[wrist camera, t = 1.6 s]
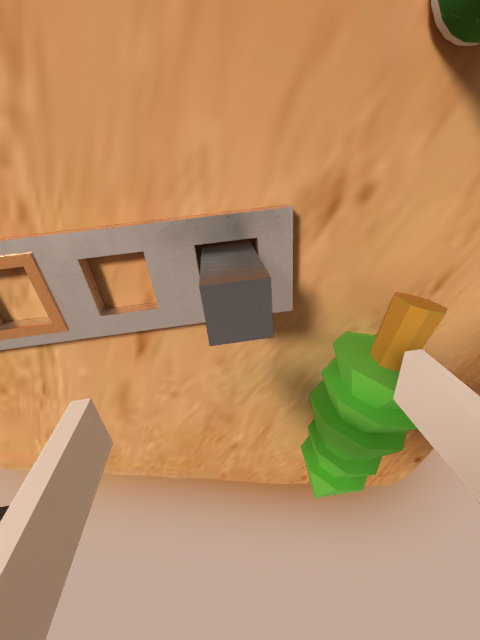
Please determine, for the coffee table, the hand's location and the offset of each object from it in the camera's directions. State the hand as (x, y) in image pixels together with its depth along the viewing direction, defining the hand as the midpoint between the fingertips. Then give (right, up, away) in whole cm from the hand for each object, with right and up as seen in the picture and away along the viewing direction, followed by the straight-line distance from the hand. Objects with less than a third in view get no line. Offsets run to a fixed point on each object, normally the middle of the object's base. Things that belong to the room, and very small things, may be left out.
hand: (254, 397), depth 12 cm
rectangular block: (-2, +9, +15) cm, 17 cm away
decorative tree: (+12, -5, +25) cm, 28 cm away
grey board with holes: (-12, +7, +14) cm, 20 cm away
